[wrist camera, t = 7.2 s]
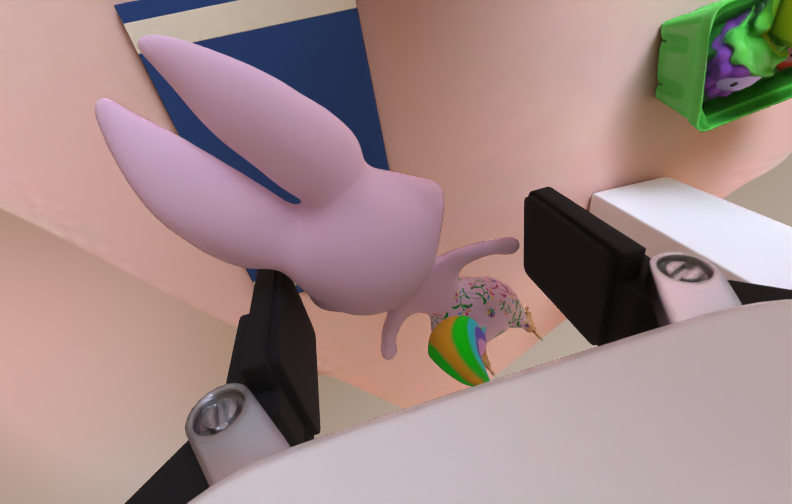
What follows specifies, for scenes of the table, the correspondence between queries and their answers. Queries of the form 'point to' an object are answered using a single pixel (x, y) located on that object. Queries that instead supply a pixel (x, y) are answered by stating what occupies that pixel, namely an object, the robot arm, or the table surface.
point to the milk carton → (700, 229)
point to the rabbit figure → (309, 206)
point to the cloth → (269, 63)
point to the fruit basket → (726, 60)
